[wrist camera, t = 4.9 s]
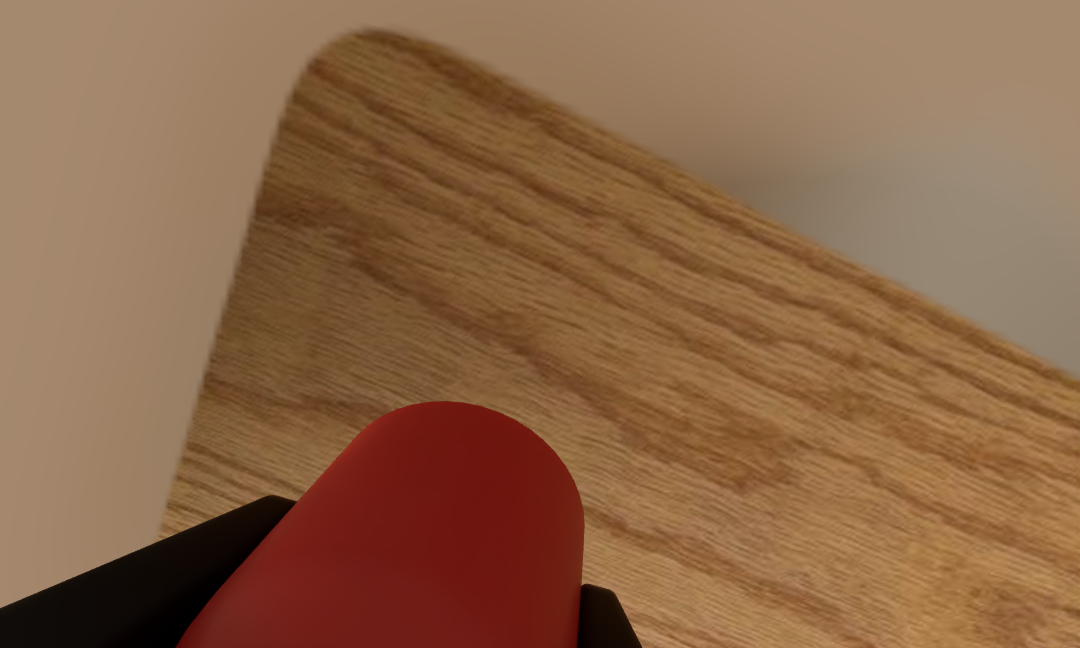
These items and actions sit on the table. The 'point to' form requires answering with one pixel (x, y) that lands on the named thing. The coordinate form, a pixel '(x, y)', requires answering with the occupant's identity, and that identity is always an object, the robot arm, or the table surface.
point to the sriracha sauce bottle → (416, 545)
